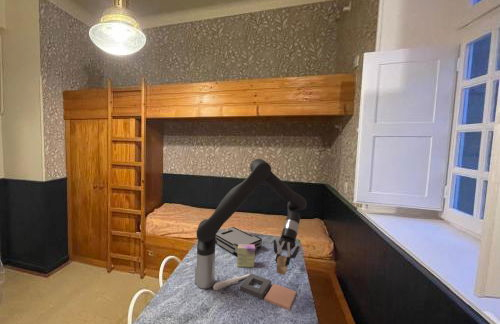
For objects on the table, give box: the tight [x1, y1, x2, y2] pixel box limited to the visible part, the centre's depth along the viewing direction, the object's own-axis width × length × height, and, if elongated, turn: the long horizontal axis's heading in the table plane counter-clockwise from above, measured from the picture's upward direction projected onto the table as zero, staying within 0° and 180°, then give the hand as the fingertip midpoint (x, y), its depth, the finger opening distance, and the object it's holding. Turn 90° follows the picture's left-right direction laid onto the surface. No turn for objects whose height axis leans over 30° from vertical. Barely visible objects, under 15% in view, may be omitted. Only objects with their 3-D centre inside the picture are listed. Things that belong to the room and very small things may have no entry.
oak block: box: [276, 254, 288, 276], centre depth 101 cm, size 4×4×7 cm
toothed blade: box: [212, 273, 252, 291], centre depth 111 cm, size 3×4×22 cm
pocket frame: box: [239, 273, 272, 300], centre depth 108 cm, size 12×12×2 cm
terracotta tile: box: [263, 283, 297, 311], centre depth 102 cm, size 12×12×1 cm
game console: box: [215, 226, 263, 258], centre depth 152 cm, size 21×32×8 cm, turn 44°
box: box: [236, 244, 256, 268], centre depth 128 cm, size 10×6×12 cm, turn 92°
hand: (281, 264), depth 100 cm, fingers closed on oak block, 4 cm apart
